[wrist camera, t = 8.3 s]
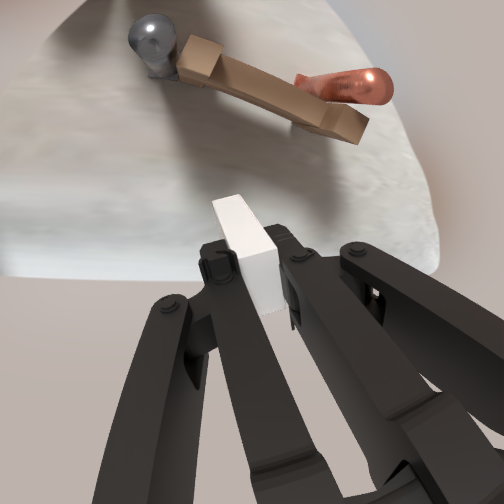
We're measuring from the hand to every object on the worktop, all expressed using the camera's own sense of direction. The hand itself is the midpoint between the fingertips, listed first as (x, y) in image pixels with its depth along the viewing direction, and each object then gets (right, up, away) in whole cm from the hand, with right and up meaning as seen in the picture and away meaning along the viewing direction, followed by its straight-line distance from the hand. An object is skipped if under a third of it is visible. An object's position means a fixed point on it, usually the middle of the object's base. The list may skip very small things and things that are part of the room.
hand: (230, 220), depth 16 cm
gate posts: (0, +15, +9) cm, 18 cm away
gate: (+1, +13, +10) cm, 17 cm away
